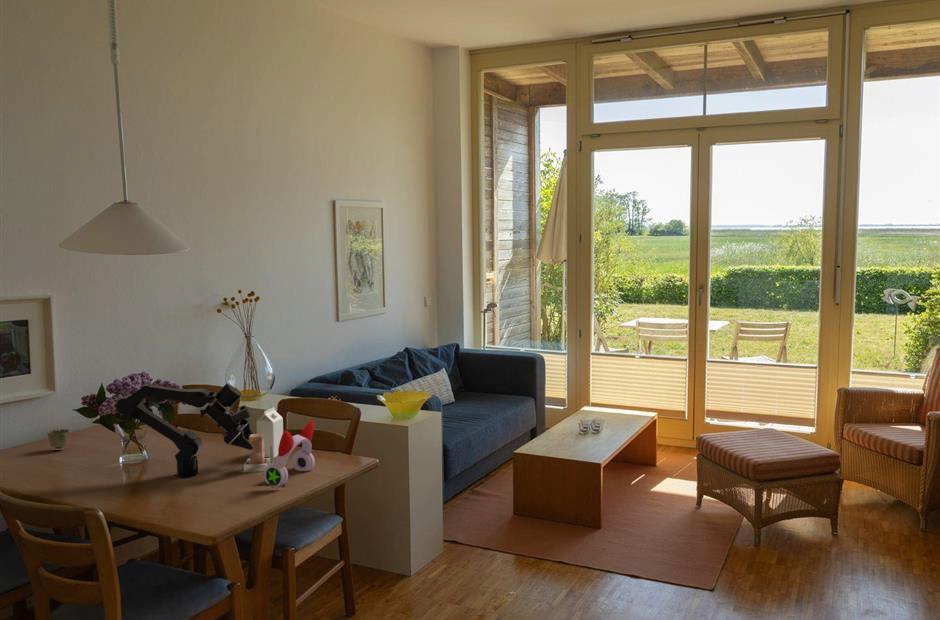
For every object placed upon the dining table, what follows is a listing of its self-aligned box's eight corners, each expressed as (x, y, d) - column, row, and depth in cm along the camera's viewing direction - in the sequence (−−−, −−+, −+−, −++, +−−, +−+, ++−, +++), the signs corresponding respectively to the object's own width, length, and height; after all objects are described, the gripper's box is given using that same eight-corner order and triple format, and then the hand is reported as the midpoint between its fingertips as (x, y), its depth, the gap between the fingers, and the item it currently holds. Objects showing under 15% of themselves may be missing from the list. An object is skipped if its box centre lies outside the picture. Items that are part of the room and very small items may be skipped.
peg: (250, 470, 273) (248, 437, 272) (252, 466, 278) (251, 434, 277) (262, 469, 274) (261, 436, 273) (264, 466, 278) (263, 433, 277)
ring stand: (257, 479, 268) (256, 452, 267) (232, 474, 274) (231, 448, 273) (282, 470, 278) (281, 444, 277) (257, 465, 284) (256, 440, 283)
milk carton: (257, 460, 292) (256, 410, 290) (268, 454, 299) (266, 406, 297) (274, 461, 290) (272, 411, 288) (284, 456, 296) (282, 407, 295)
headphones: (296, 471, 278) (294, 416, 276) (319, 473, 274) (318, 418, 272) (263, 487, 259) (261, 429, 257) (287, 490, 256) (286, 431, 254)
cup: (55, 448, 311) (54, 428, 310) (73, 448, 311) (72, 428, 310) (44, 453, 304) (43, 433, 303) (62, 453, 303) (61, 433, 303)
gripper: (231, 405, 264) (265, 436, 266) (242, 394, 282) (274, 423, 284) (209, 429, 264) (243, 459, 266) (221, 416, 282) (253, 445, 284)
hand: (254, 445), depth 275 cm, fingers open, 9 cm apart
